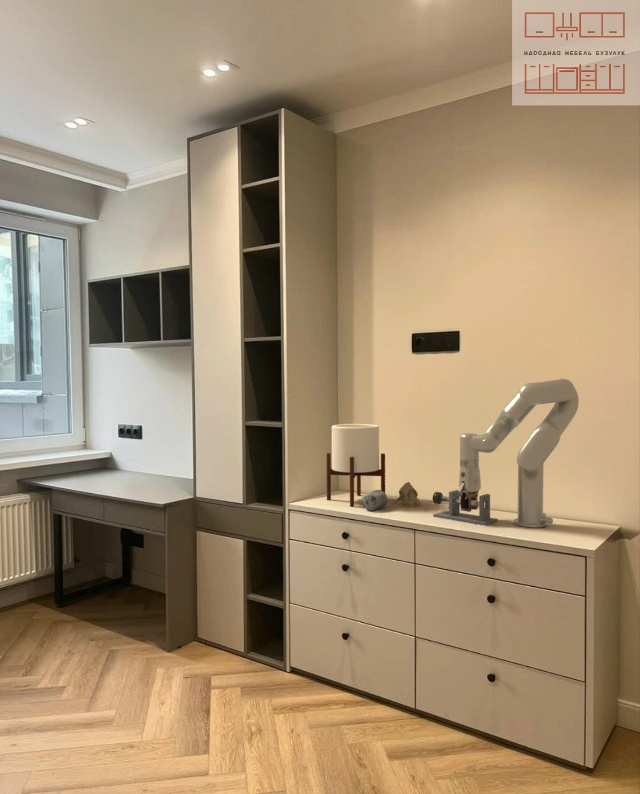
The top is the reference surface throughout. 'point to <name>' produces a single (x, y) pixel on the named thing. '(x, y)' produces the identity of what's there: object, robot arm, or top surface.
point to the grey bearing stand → (456, 515)
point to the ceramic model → (408, 496)
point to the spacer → (471, 497)
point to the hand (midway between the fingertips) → (469, 506)
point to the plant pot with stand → (355, 455)
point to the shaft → (439, 498)
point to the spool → (374, 500)
